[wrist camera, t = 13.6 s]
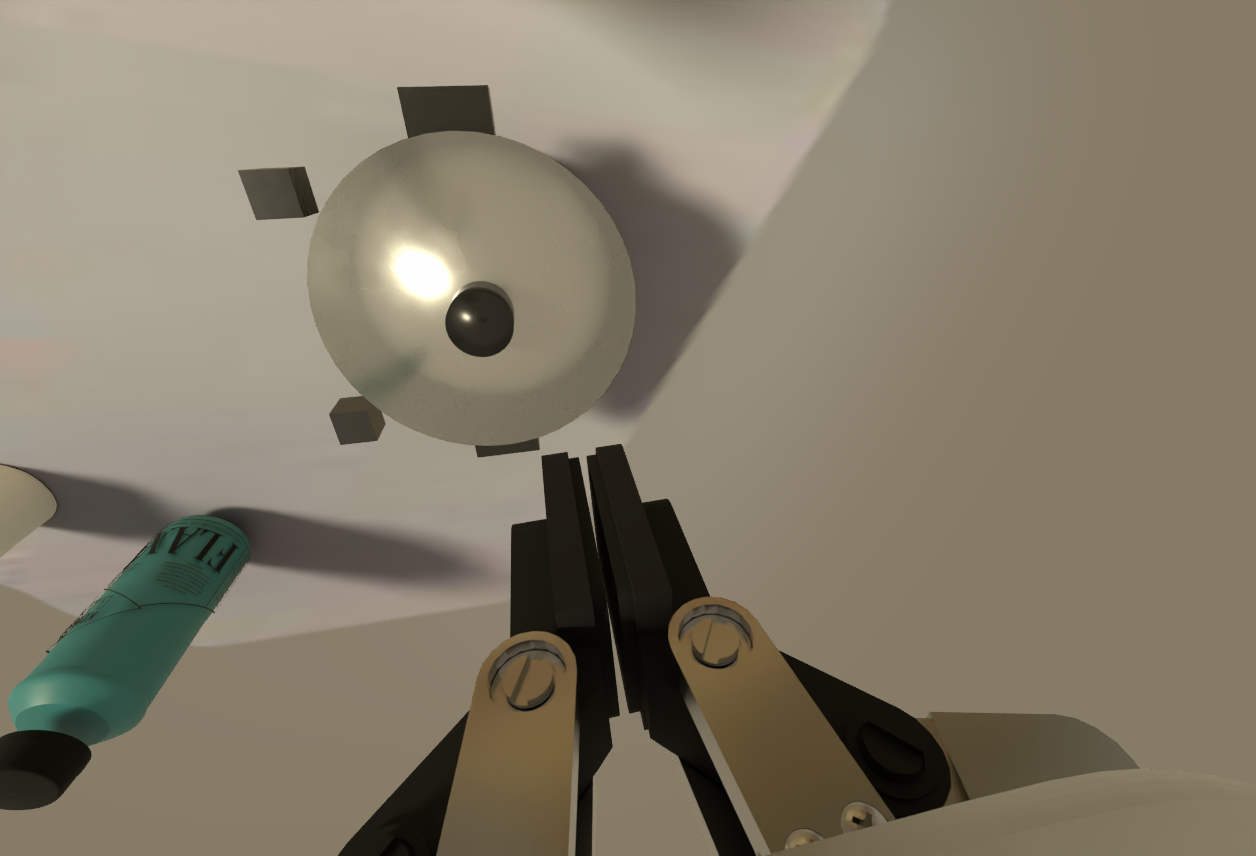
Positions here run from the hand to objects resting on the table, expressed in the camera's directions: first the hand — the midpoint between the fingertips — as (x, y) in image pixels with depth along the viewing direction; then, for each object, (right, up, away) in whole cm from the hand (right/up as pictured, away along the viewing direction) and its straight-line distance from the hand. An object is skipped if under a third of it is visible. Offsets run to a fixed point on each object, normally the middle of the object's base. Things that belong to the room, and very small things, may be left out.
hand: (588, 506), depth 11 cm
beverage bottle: (-34, -7, +32) cm, 47 cm away
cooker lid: (-7, +8, +17) cm, 20 cm away
